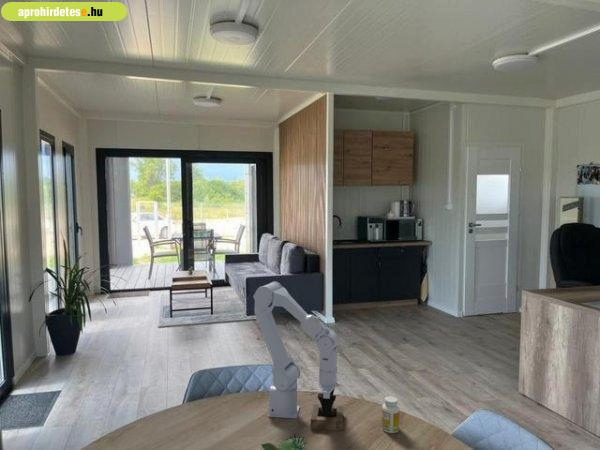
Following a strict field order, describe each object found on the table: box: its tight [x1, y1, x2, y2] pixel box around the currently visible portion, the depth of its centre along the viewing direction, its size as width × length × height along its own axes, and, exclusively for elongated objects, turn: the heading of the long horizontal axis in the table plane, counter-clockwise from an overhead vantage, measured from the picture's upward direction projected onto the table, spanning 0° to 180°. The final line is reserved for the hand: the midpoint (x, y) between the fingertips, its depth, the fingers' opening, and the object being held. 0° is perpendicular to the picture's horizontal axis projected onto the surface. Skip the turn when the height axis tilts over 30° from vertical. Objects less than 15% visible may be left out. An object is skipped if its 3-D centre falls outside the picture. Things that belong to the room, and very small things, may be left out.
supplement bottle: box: [381, 395, 401, 434], centre depth 134 cm, size 5×5×10 cm
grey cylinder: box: [321, 394, 335, 417], centre depth 139 cm, size 4×4×8 cm
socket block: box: [310, 403, 344, 432], centre depth 139 cm, size 10×10×3 cm
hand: (327, 409), depth 139 cm, fingers open, 7 cm apart
